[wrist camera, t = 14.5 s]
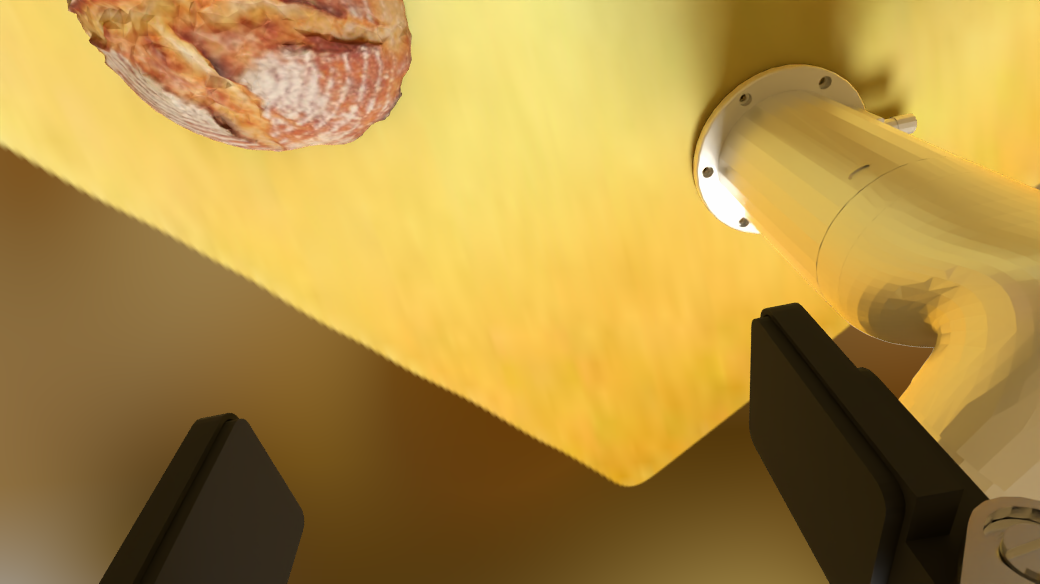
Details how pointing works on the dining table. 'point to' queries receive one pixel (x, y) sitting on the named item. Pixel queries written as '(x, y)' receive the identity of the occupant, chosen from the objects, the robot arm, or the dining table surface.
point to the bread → (258, 64)
